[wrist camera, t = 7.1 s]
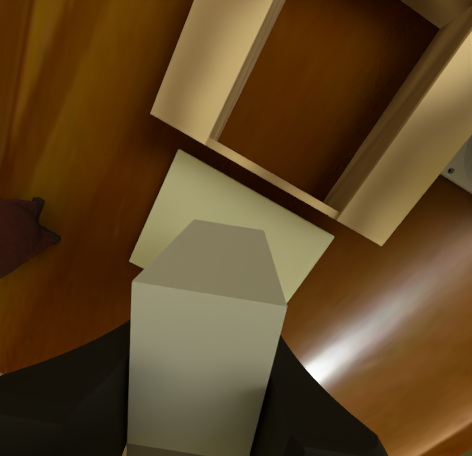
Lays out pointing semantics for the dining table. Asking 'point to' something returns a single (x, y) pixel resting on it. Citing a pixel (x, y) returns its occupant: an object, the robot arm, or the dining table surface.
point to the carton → (379, 139)
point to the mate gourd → (21, 233)
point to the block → (203, 343)
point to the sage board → (229, 219)
